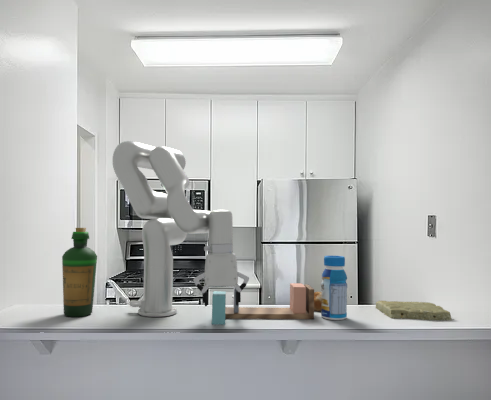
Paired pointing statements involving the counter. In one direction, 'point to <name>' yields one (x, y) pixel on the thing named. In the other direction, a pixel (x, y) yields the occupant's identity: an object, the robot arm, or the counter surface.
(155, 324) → the counter surface
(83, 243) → the bottle
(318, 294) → the bread roll
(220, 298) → the teal rectangular block
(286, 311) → the wooden book rack
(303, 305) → the salmon pink block
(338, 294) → the beverage bottle
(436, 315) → the decorative tile
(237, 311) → the bookend
